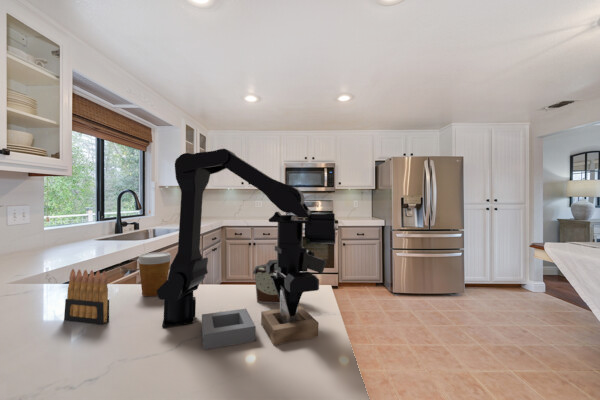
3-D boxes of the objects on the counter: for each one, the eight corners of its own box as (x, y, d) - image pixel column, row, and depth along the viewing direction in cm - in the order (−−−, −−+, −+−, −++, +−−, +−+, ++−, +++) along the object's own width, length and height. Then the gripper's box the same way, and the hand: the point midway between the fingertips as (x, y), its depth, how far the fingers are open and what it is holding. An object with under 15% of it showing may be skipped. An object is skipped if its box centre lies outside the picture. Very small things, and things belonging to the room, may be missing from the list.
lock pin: (282, 335, 56) (283, 293, 57) (277, 327, 60) (277, 288, 60) (300, 332, 58) (300, 291, 58) (293, 325, 62) (294, 286, 62)
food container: (296, 296, 81) (297, 264, 81) (294, 304, 75) (294, 268, 75) (257, 294, 82) (258, 262, 83) (252, 301, 76) (252, 267, 76)
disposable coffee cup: (158, 286, 89) (159, 251, 89) (177, 291, 84) (178, 253, 85) (129, 294, 80) (130, 255, 81) (148, 300, 76) (149, 258, 76)
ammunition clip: (109, 321, 62) (111, 270, 62) (102, 325, 60) (104, 272, 61) (71, 317, 64) (73, 267, 64) (63, 320, 62) (65, 269, 62)
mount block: (273, 345, 52) (273, 330, 53) (261, 324, 62) (261, 311, 62) (318, 336, 56) (318, 322, 56) (300, 318, 66) (300, 305, 66)
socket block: (203, 350, 50) (203, 334, 50) (201, 327, 60) (201, 314, 60) (255, 340, 54) (255, 326, 54) (245, 321, 63) (246, 308, 63)
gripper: (342, 246, 54) (341, 323, 54) (305, 236, 71) (305, 295, 71) (291, 249, 50) (290, 333, 49) (265, 238, 67) (264, 300, 67)
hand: (288, 312), depth 59 cm, fingers closed on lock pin, 4 cm apart
